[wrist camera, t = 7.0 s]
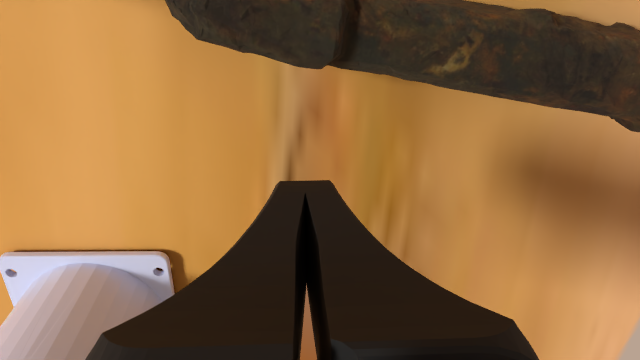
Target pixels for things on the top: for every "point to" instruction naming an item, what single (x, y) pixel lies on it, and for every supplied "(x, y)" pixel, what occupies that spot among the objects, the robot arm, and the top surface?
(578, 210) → the top surface
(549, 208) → the top surface
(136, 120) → the top surface
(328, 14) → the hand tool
